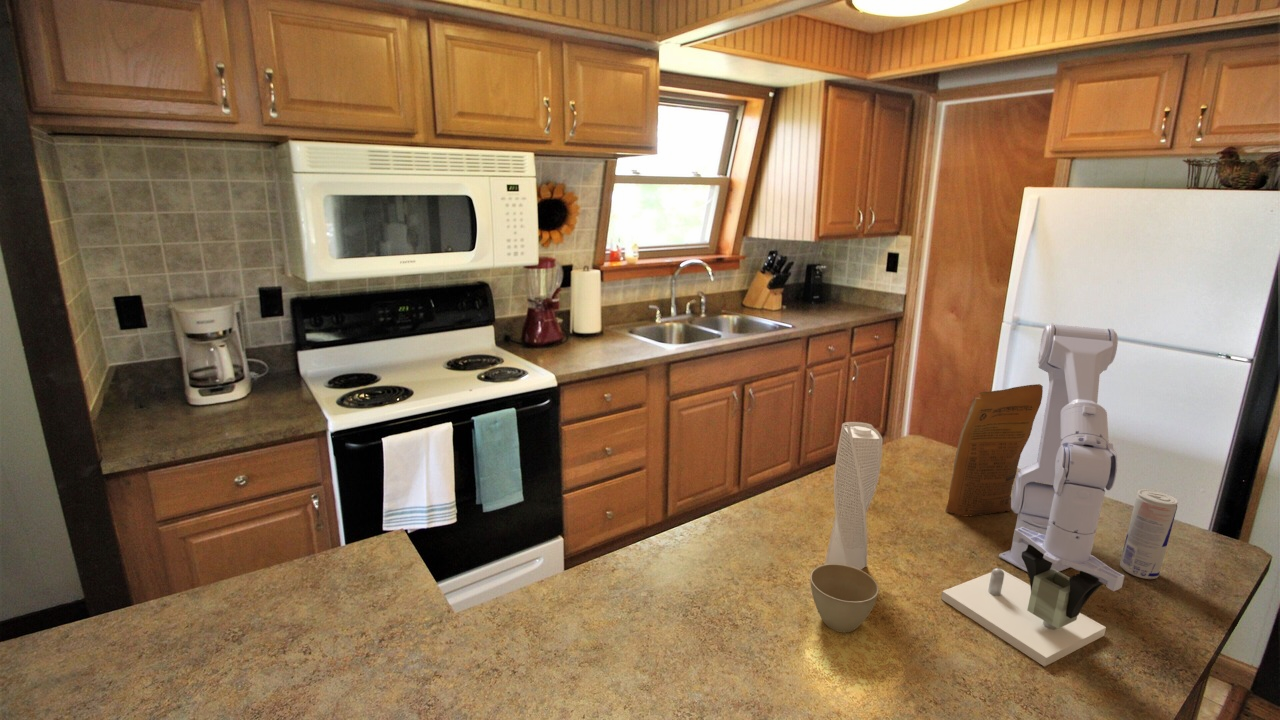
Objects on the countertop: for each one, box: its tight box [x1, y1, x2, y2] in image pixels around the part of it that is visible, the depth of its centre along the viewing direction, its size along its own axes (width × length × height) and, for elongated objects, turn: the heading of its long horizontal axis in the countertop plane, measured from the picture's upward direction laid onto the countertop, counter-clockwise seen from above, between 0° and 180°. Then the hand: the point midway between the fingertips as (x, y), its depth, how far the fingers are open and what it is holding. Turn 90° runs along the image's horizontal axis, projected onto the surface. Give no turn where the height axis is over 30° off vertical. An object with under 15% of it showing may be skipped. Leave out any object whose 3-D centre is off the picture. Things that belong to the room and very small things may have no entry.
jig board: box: [940, 567, 1107, 667], centre depth 99 cm, size 15×17×6 cm
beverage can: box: [1119, 489, 1179, 580], centre depth 111 cm, size 6×6×15 cm
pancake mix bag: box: [945, 383, 1044, 517], centre depth 130 cm, size 7×19×28 cm, turn 103°
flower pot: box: [809, 563, 880, 633], centre depth 97 cm, size 10×10×7 cm
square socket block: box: [1027, 569, 1077, 629], centre depth 94 cm, size 5×5×6 cm
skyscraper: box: [824, 421, 883, 570], centre depth 109 cm, size 8×8×28 cm
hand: (1054, 605), depth 95 cm, fingers closed on square socket block, 5 cm apart
